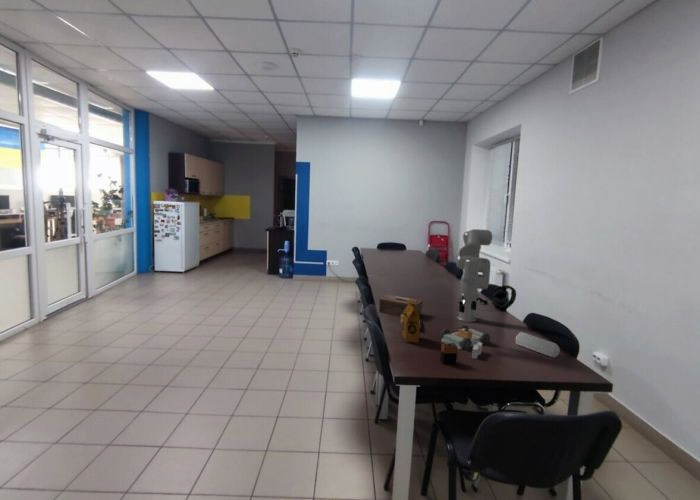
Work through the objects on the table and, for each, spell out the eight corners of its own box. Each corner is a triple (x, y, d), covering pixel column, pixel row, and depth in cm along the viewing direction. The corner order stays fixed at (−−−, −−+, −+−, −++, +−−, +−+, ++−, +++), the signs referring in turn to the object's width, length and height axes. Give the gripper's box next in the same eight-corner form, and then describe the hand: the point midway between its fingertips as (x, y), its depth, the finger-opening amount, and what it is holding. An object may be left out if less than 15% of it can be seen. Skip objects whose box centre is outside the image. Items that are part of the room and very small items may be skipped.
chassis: (466, 333, 227) (467, 323, 226) (490, 343, 213) (491, 332, 212) (438, 339, 214) (439, 329, 213) (462, 350, 200) (463, 340, 199)
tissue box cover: (421, 314, 262) (422, 300, 260) (414, 319, 249) (415, 305, 248) (386, 307, 274) (387, 294, 272) (379, 312, 261) (379, 298, 260)
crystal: (510, 337, 213) (553, 352, 194) (517, 329, 216) (560, 344, 197) (513, 347, 216) (555, 363, 197) (520, 339, 219) (562, 354, 200)
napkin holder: (475, 362, 188) (476, 351, 187) (459, 353, 198) (460, 342, 197) (496, 357, 194) (497, 347, 194) (480, 349, 204) (481, 339, 204)
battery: (439, 360, 187) (441, 341, 185) (452, 360, 187) (454, 341, 186) (443, 364, 182) (444, 344, 181) (456, 364, 183) (458, 344, 182)
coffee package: (402, 342, 208) (405, 304, 204) (400, 334, 220) (402, 298, 217) (420, 343, 207) (423, 305, 204) (417, 335, 219) (420, 299, 216)
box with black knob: (458, 337, 215) (459, 327, 214) (463, 336, 217) (464, 326, 216) (466, 341, 210) (467, 331, 209) (471, 340, 212) (472, 329, 211)
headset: (488, 315, 295) (518, 307, 271) (475, 308, 292) (504, 300, 267) (490, 295, 304) (519, 285, 279) (477, 288, 300) (506, 278, 276)
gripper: (474, 278, 217) (472, 307, 219) (454, 281, 207) (451, 311, 210) (485, 281, 210) (483, 310, 213) (465, 284, 201) (462, 314, 203)
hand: (467, 310), depth 211 cm, fingers open, 9 cm apart
